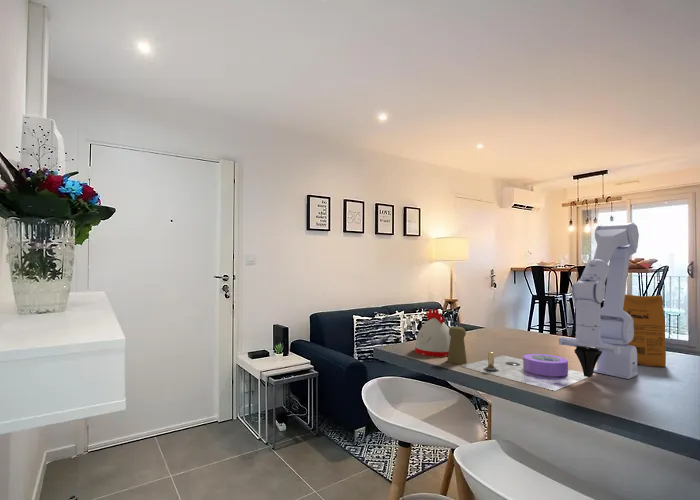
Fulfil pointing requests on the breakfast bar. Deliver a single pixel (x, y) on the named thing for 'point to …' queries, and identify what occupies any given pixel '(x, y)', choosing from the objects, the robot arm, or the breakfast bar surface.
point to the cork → (457, 346)
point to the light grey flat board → (525, 373)
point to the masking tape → (545, 365)
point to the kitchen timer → (433, 336)
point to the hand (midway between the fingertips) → (588, 376)
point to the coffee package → (647, 328)
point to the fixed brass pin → (491, 362)
